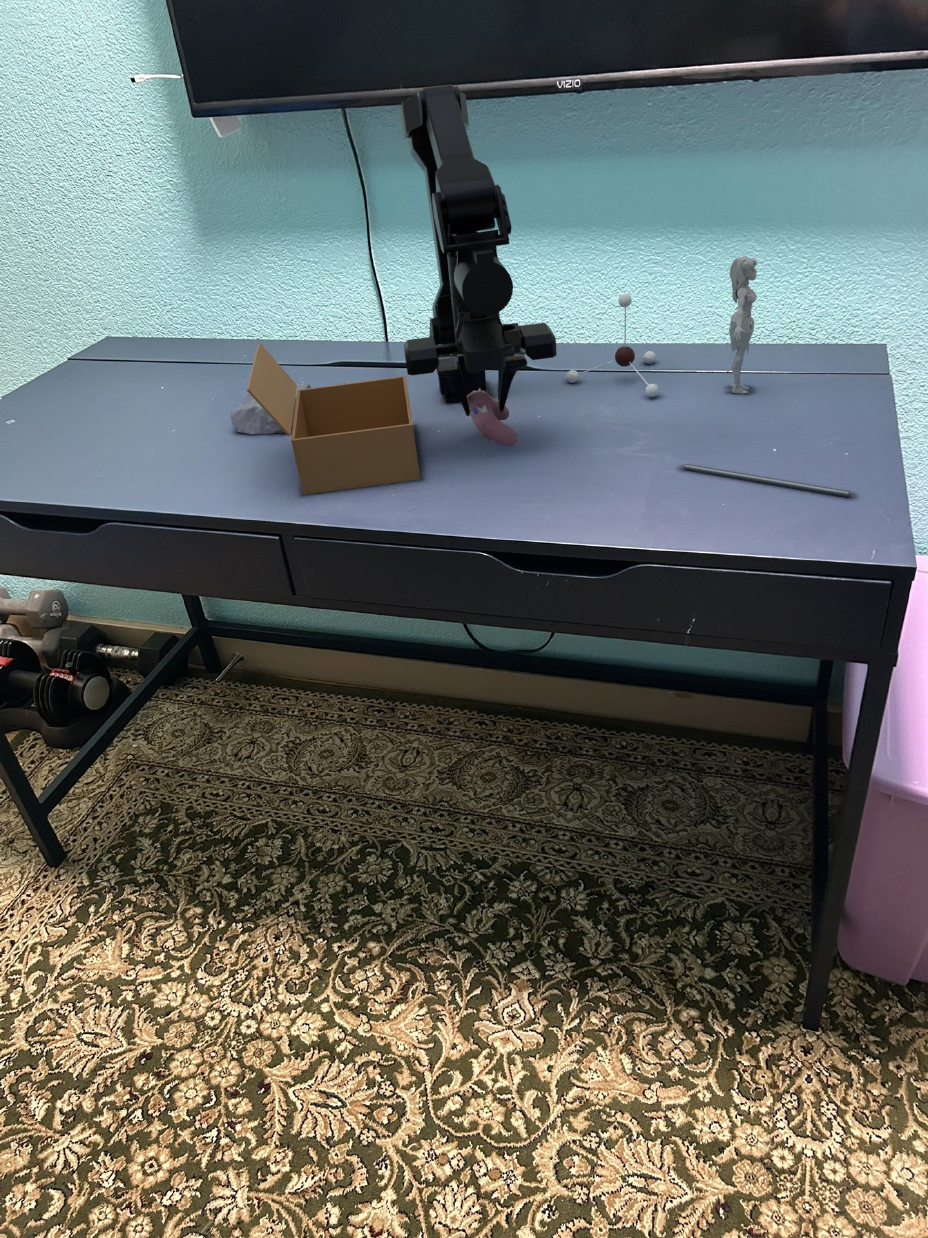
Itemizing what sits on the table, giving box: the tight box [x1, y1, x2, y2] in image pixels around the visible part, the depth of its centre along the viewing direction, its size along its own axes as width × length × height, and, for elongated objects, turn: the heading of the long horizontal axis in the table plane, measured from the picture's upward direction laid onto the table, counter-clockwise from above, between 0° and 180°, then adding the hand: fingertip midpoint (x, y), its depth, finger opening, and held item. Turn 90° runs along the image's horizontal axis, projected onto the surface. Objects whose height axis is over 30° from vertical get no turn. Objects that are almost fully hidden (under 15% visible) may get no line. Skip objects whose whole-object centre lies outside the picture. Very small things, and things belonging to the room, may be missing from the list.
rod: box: [683, 463, 851, 498], centre depth 104 cm, size 1×19×1 cm, turn 58°
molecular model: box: [565, 293, 660, 398], centre depth 128 cm, size 13×15×13 cm
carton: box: [290, 375, 421, 496], centre depth 117 cm, size 17×15×7 cm
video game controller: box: [467, 388, 519, 447], centre depth 118 cm, size 10×5×7 cm, turn 6°
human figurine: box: [728, 255, 758, 394], centre depth 121 cm, size 12×4×18 cm, turn 163°
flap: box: [246, 342, 297, 437], centre depth 113 cm, size 17×7×1 cm
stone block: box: [230, 382, 312, 436], centre depth 133 cm, size 12×5×10 cm
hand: (484, 412), depth 118 cm, fingers closed on video game controller, 4 cm apart
